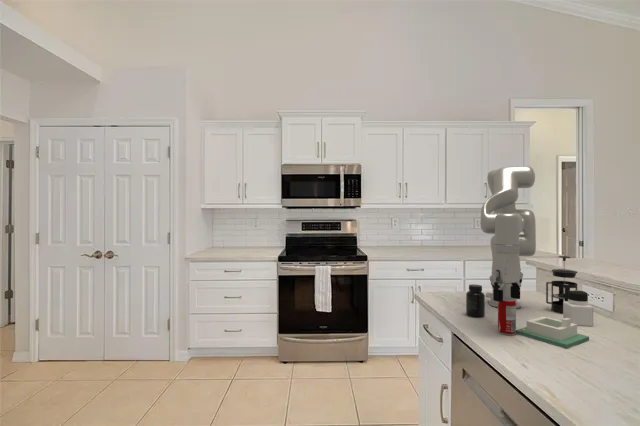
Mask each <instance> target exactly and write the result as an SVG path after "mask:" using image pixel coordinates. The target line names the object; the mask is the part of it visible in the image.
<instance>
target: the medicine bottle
mask: <svg viewBox="0 0 640 426" xmlns="http://www.w3.org/2000/svg"><path fill="white" fill-rule="evenodd" d="M568 301H569V302H567V301H565V300H564V302H563V314H562V319H564V318H570V319H571V323H573V324H577V326H581V327H593V326H594V307H593V306H591V305H589V304H588V303H589V302H588V301H589V294H588V292H586V291H584V290H579V289H577V290H576V289H570V291H568Z"/></svg>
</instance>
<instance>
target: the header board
mask: <svg viewBox="0 0 640 426" xmlns="http://www.w3.org/2000/svg"><path fill="white" fill-rule="evenodd" d="M515 335H518V336H519V335H520V336H523V337H526V338H530V339H533V340H535V341H536V340H537V341H540V342H543V343H547V344H549V345H553V346H557V347H560V348H563V349H569V348H572V347H574V346H575V347H576V346H578V345H580V344H584V343H585V342H588V341H590V336H588V335H585V334H580V333H578V325H577V324H573V323H571V319H570V318H564V319H563V318H562V319H561V320H560V319H556V318H553V317H547V316H540V317H535V318H533V319H530V320H526V327H521V328H519V329H518V328H517V329H516V333H515Z"/></svg>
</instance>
